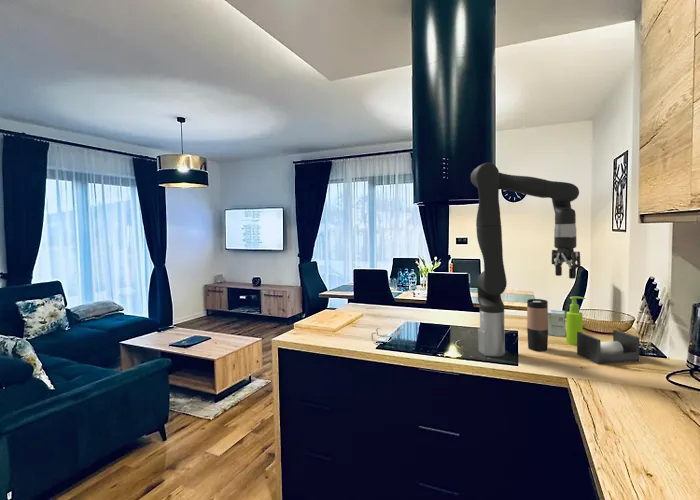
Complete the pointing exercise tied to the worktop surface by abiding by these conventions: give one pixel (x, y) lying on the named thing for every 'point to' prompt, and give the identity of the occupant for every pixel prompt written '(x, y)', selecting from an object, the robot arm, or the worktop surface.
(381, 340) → the wall mount rack
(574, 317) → the soap dispenser
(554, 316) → the light bulb box
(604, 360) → the holder
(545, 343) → the travel mug
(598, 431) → the worktop surface
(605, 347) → the kitchen roll
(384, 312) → the worktop surface
